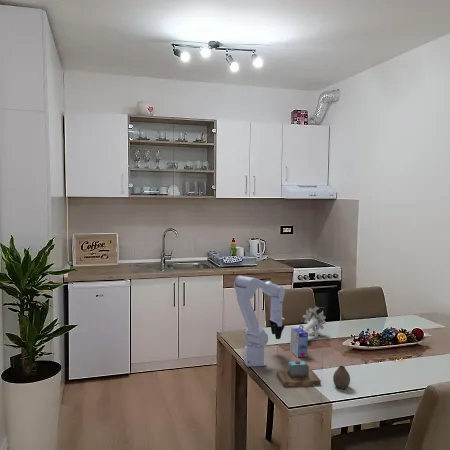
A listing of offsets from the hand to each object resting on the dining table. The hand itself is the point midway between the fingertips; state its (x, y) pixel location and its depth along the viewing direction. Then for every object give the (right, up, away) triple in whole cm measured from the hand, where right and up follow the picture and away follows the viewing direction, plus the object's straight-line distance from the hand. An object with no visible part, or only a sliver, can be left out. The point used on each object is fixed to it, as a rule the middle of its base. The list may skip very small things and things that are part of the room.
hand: (276, 336), depth 223 cm
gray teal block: (+6, -10, -30) cm, 32 cm away
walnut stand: (+6, -12, -30) cm, 32 cm away
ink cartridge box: (+12, -10, +2) cm, 15 cm away
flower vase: (+22, -8, +27) cm, 35 cm away
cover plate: (+6, -6, -30) cm, 31 cm away
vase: (+23, -12, -36) cm, 45 cm away
